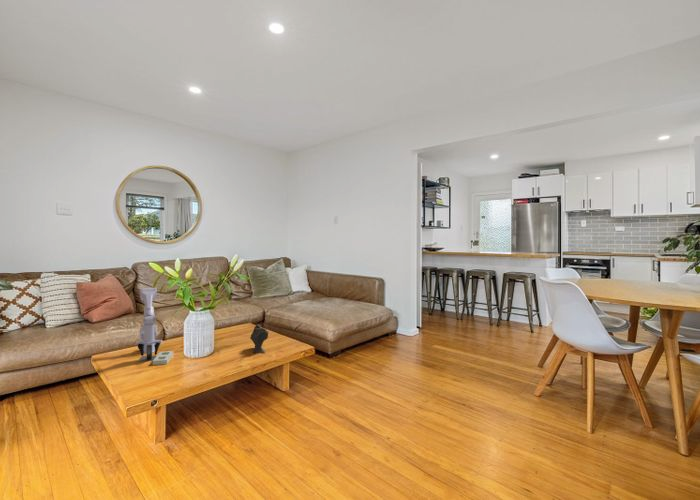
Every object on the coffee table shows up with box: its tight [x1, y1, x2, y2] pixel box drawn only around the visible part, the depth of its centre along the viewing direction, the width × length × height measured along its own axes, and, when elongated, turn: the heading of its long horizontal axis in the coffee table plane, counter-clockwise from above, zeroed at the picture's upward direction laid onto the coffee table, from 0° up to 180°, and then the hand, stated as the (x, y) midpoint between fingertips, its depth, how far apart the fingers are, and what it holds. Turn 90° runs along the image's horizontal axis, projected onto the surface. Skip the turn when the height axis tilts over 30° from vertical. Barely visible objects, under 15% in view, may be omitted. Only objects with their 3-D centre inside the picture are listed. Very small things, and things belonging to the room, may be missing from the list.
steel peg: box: [146, 345, 153, 360], centre depth 215 cm, size 3×3×9 cm
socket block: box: [152, 350, 174, 366], centre depth 215 cm, size 16×8×3 cm, turn 15°
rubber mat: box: [136, 354, 158, 363], centre depth 216 cm, size 10×10×1 cm
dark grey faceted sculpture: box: [249, 324, 269, 354], centre depth 240 cm, size 14×15×18 cm
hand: (149, 354), depth 215 cm, fingers open, 7 cm apart
